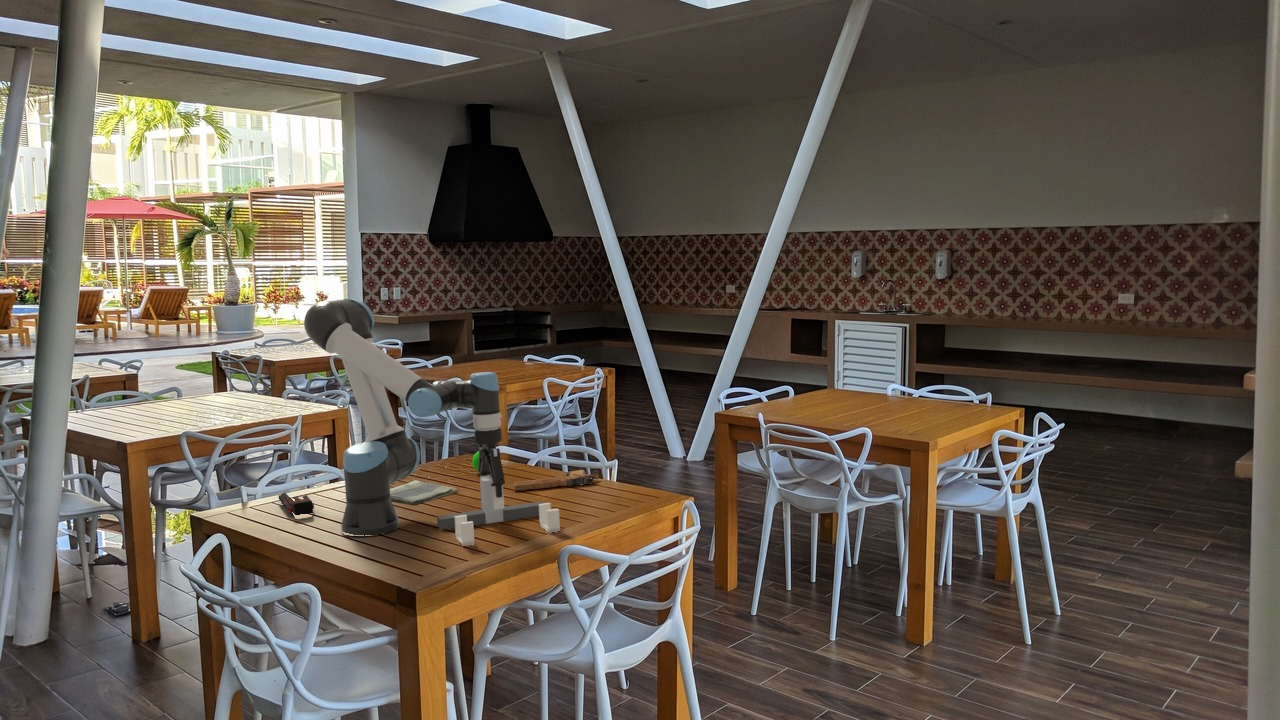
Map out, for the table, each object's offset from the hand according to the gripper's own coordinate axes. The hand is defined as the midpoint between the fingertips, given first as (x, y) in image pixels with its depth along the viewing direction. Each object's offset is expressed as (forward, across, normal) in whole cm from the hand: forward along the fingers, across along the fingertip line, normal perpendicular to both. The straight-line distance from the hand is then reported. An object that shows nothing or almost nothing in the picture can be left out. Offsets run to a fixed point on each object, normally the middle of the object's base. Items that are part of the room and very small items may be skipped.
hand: (492, 503), depth 260 cm
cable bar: (+5, 0, 0) cm, 5 cm away
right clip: (+5, -16, -11) cm, 20 cm away
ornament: (+5, +61, -13) cm, 63 cm away
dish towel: (+5, +42, +13) cm, 45 cm away
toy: (+5, +46, +49) cm, 68 cm away
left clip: (+5, -16, +12) cm, 20 cm away
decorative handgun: (+6, +34, -29) cm, 45 cm away
